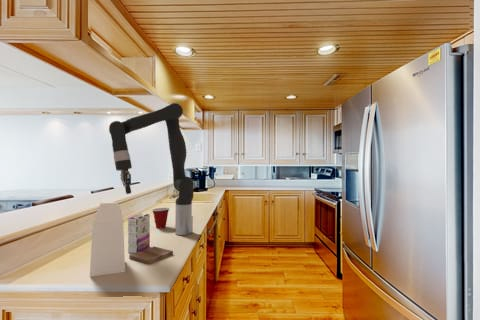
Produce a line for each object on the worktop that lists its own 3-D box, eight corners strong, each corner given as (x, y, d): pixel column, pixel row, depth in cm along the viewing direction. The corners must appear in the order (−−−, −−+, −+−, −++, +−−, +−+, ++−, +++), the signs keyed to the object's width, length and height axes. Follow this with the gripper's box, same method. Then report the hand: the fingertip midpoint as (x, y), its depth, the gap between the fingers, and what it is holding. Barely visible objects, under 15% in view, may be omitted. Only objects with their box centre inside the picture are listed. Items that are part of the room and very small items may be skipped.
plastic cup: (158, 224, 180) (158, 206, 180) (172, 226, 177) (172, 207, 177) (147, 228, 170) (148, 209, 170) (162, 230, 167) (163, 210, 167)
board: (154, 249, 131) (154, 246, 131) (172, 254, 125) (172, 250, 125) (129, 258, 119) (129, 255, 119) (148, 264, 113) (148, 260, 113)
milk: (89, 276, 100) (90, 205, 100) (92, 265, 111) (93, 201, 111) (125, 271, 105) (125, 203, 105) (124, 261, 116) (125, 199, 116)
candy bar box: (140, 245, 136) (141, 212, 136) (149, 246, 135) (150, 213, 135) (127, 253, 125) (127, 217, 125) (137, 254, 124) (137, 218, 124)
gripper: (133, 157, 137) (139, 191, 136) (127, 161, 148) (133, 192, 147) (117, 159, 132) (123, 194, 132) (112, 163, 143) (118, 195, 143)
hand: (128, 193), depth 139 cm, fingers closed
